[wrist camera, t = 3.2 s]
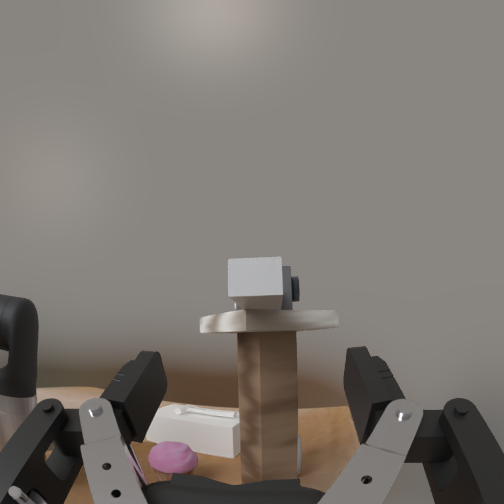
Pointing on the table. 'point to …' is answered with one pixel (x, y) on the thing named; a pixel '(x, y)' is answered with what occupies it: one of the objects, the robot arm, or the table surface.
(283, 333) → the stand
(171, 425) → the tissue box
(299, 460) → the donut
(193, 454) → the cupcake
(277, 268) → the grey block with knob
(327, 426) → the table surface
